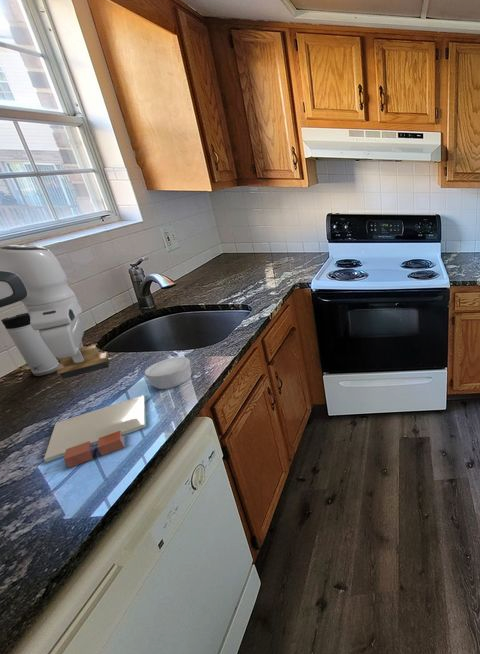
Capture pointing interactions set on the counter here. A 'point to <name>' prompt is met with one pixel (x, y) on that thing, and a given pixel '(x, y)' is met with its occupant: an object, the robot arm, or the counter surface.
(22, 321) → the travel mug
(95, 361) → the brush
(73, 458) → the reddish brown block
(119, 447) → the terracotta brick
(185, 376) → the ramekin
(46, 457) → the tile
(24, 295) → the robot arm
